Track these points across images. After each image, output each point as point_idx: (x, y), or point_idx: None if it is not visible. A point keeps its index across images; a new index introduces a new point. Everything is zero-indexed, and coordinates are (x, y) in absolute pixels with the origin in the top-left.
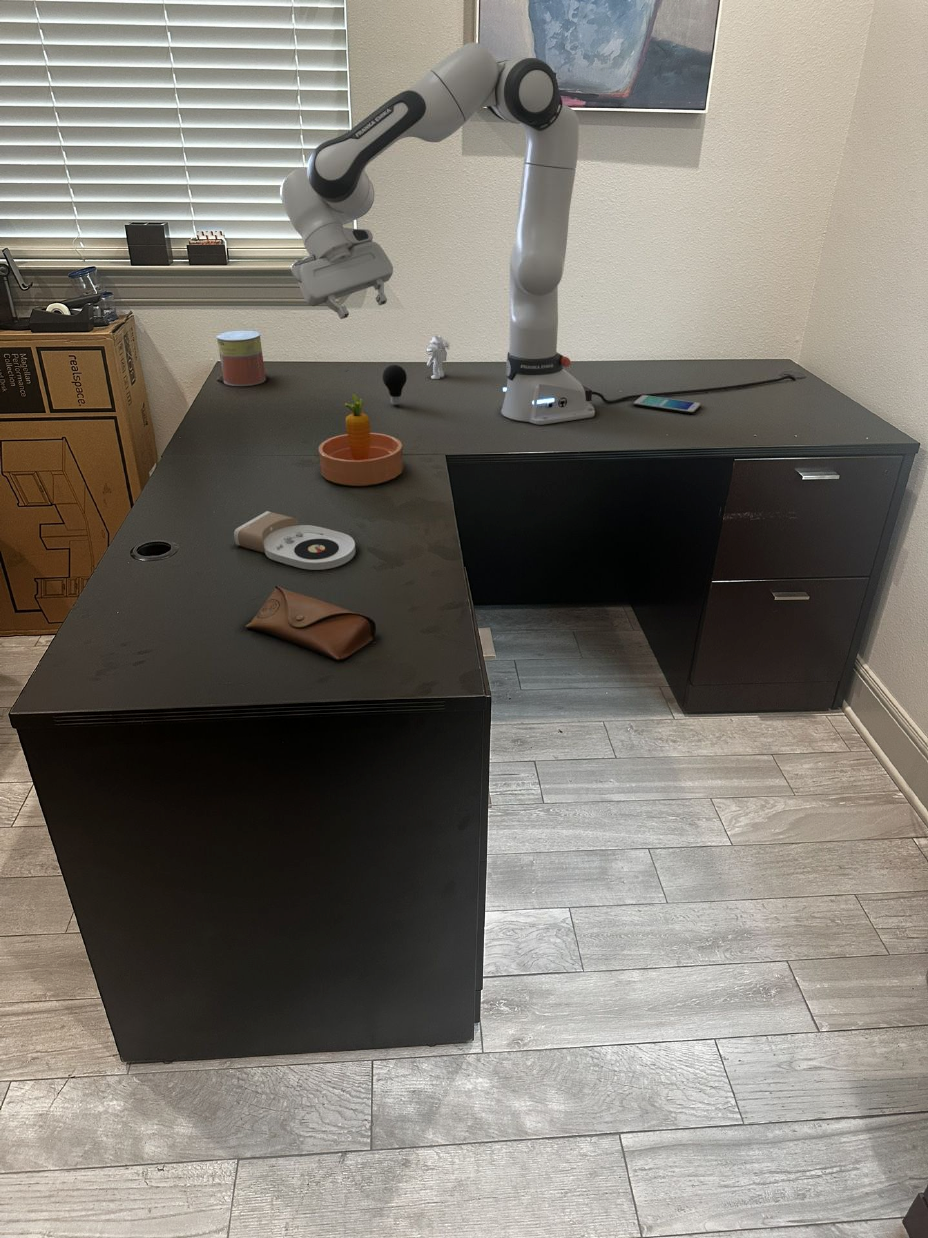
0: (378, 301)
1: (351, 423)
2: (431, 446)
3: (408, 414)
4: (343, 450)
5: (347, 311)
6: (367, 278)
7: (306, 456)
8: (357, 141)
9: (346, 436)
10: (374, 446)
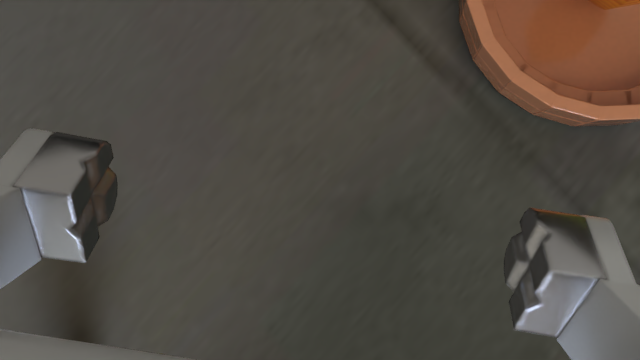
0: (96, 210)
1: None
2: (282, 11)
3: (122, 291)
4: (593, 91)
5: (546, 215)
6: (7, 353)
7: (622, 242)
8: None
9: (574, 99)
10: (496, 36)
